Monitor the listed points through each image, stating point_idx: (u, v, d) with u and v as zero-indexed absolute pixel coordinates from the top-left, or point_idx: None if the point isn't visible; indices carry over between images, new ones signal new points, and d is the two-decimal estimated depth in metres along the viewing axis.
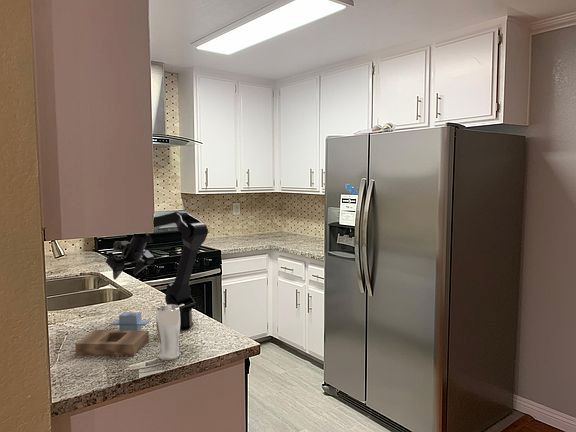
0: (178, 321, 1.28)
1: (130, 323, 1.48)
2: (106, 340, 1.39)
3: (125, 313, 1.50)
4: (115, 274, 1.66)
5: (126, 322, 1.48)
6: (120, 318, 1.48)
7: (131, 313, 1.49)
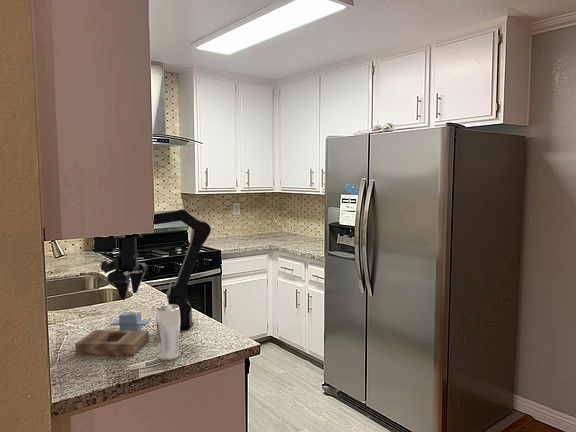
0: (178, 321, 1.28)
1: (130, 323, 1.48)
2: (106, 340, 1.39)
3: (125, 313, 1.50)
4: (123, 291, 1.44)
5: (126, 322, 1.48)
6: (120, 318, 1.48)
7: (131, 313, 1.49)
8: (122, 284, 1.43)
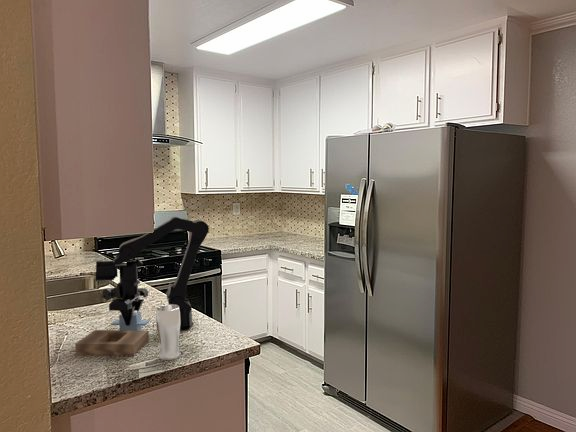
0: (178, 321, 1.28)
1: (130, 323, 1.48)
2: (106, 340, 1.39)
3: None
4: (128, 317, 1.47)
5: None
6: (120, 318, 1.48)
7: None
8: (127, 310, 1.46)
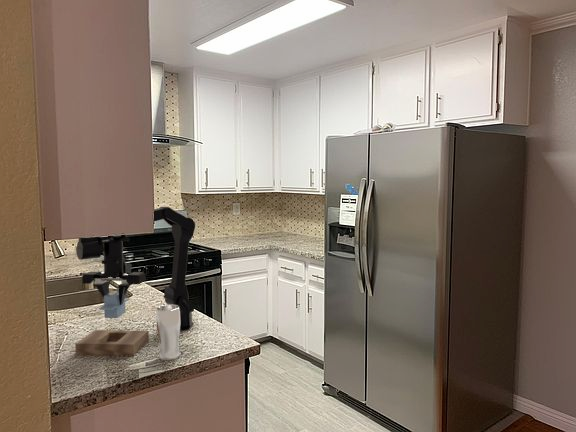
0: (178, 321, 1.28)
1: None
2: (106, 340, 1.39)
3: (116, 292, 1.40)
4: None
5: None
6: None
7: None
8: None
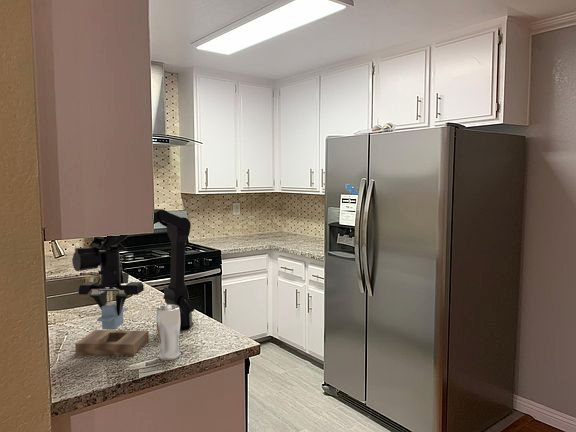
0: (178, 321, 1.28)
1: None
2: (106, 340, 1.39)
3: (114, 302, 1.38)
4: None
5: None
6: None
7: None
8: None
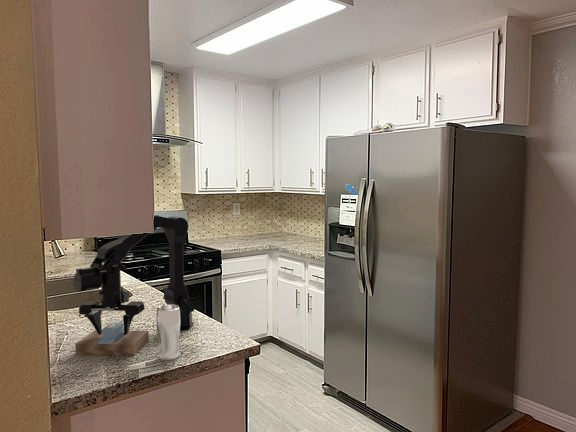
0: (178, 321, 1.28)
1: None
2: None
3: (114, 324, 1.39)
4: None
5: None
6: None
7: None
8: None
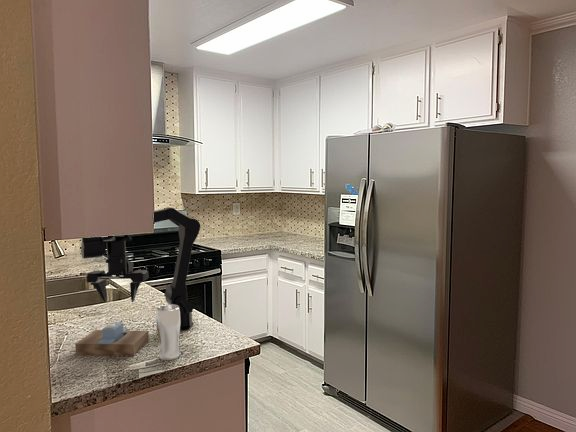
0: (178, 321, 1.28)
1: None
2: None
3: (114, 324, 1.39)
4: None
5: None
6: None
7: None
8: None
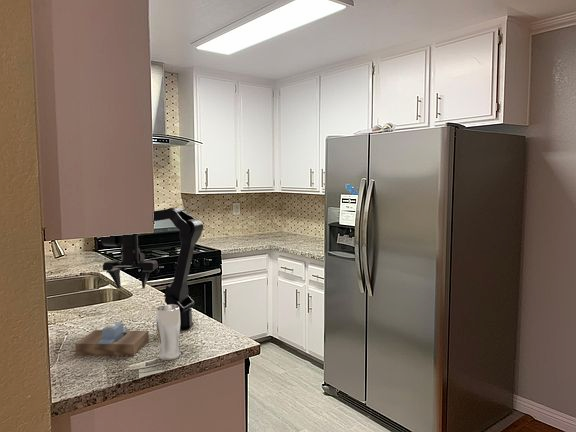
0: (178, 321, 1.28)
1: None
2: None
3: (114, 324, 1.39)
4: None
5: None
6: None
7: None
8: None
